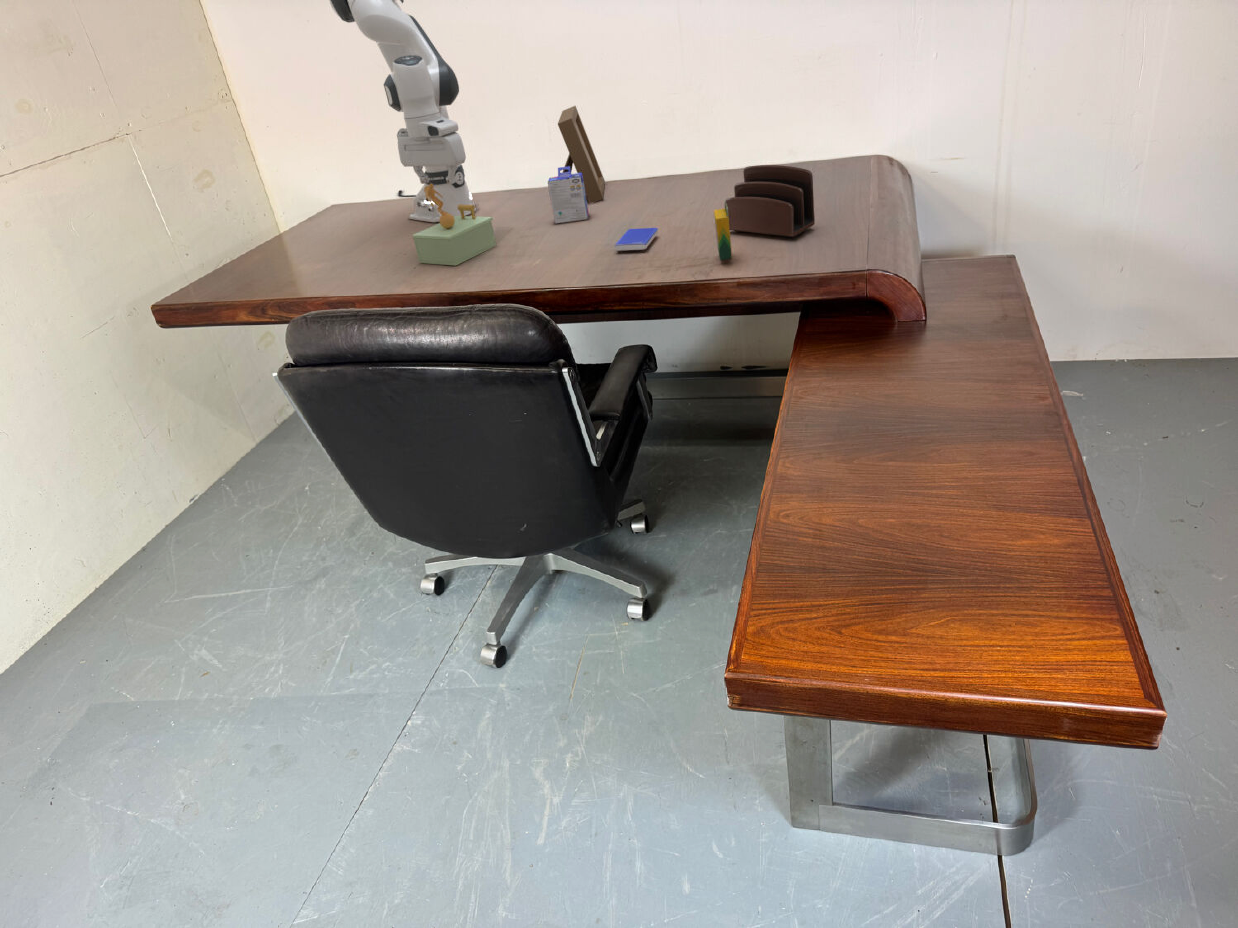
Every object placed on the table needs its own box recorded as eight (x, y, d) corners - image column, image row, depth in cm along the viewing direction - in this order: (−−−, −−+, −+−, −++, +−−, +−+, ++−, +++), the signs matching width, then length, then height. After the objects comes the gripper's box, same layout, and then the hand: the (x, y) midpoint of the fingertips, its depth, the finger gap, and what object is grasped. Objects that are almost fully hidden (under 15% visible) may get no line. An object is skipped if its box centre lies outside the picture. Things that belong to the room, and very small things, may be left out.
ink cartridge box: (589, 214, 246) (581, 163, 238) (588, 219, 241) (580, 168, 234) (556, 219, 247) (547, 168, 239) (554, 224, 242) (545, 173, 234)
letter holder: (748, 218, 218) (744, 162, 211) (815, 225, 206) (814, 166, 198) (725, 230, 212) (721, 173, 205) (793, 238, 200) (791, 178, 193)
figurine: (451, 232, 220) (440, 186, 214) (429, 234, 221) (417, 188, 215) (460, 222, 227) (449, 177, 221) (439, 225, 228) (427, 180, 222)
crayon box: (717, 250, 199) (713, 201, 193) (729, 249, 199) (726, 200, 193) (719, 261, 193) (715, 210, 187) (732, 259, 193) (728, 208, 187)
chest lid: (456, 218, 236) (452, 202, 233) (493, 220, 229) (489, 203, 226) (412, 238, 224) (408, 220, 222) (449, 240, 217) (445, 222, 214)
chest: (460, 243, 239) (454, 219, 235) (496, 245, 232) (491, 220, 228) (419, 263, 227) (412, 238, 224) (456, 265, 220) (449, 240, 217)
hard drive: (645, 243, 208) (657, 227, 218) (614, 244, 210) (627, 228, 220) (646, 249, 209) (658, 233, 219) (615, 250, 211) (628, 234, 221)
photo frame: (605, 184, 275) (593, 102, 262) (603, 202, 257) (590, 115, 243) (560, 190, 276) (546, 110, 263) (555, 208, 258) (540, 123, 245)
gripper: (386, 131, 215) (401, 186, 222) (445, 128, 204) (458, 186, 211) (404, 126, 219) (418, 180, 226) (462, 123, 208) (475, 180, 215)
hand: (438, 183), depth 218 cm, fingers open, 8 cm apart
